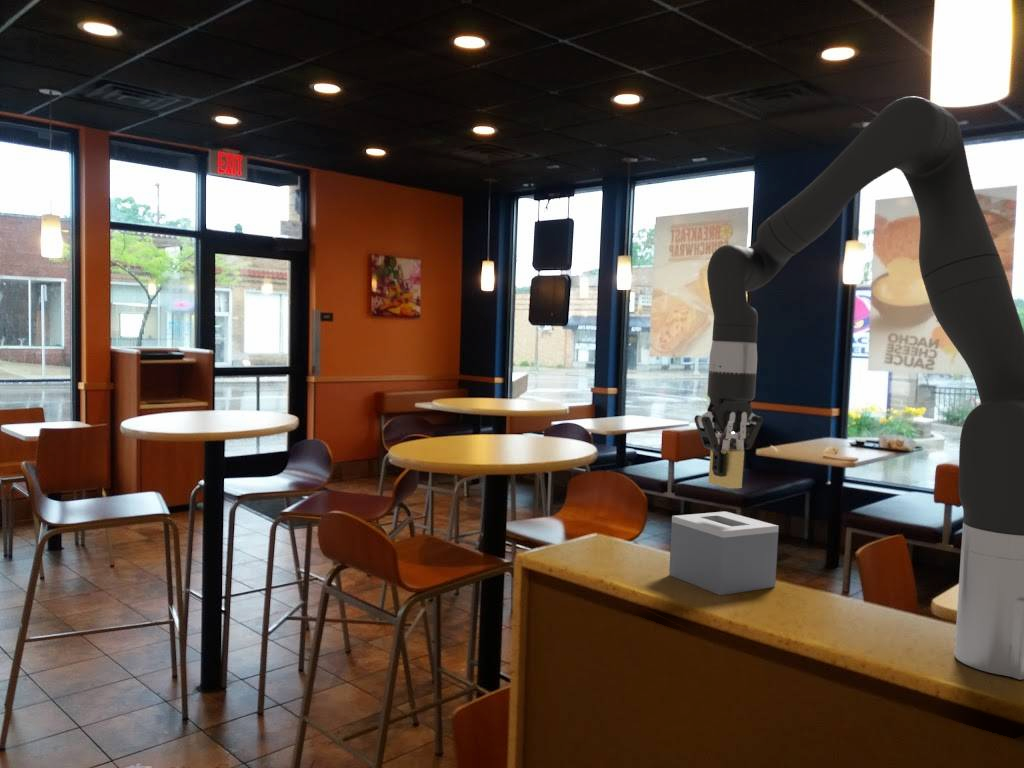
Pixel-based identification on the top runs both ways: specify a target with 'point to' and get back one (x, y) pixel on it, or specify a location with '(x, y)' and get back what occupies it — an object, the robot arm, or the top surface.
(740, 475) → the tan rectangular block
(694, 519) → the coin box
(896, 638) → the top surface
